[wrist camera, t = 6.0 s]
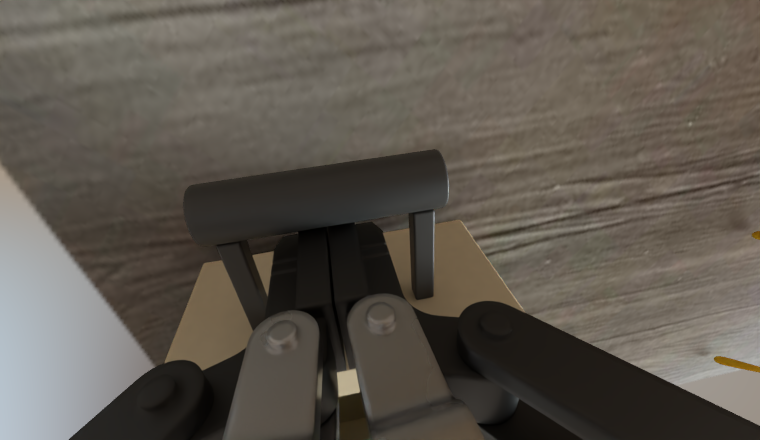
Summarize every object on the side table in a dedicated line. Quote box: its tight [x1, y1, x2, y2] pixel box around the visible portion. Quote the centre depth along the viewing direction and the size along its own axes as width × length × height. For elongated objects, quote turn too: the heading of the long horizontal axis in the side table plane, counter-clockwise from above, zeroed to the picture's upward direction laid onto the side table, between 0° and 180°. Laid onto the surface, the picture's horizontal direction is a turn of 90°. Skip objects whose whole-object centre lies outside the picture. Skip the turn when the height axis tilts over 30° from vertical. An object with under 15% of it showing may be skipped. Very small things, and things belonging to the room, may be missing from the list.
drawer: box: [164, 149, 525, 440], centre depth 13 cm, size 17×10×6 cm, turn 5°
